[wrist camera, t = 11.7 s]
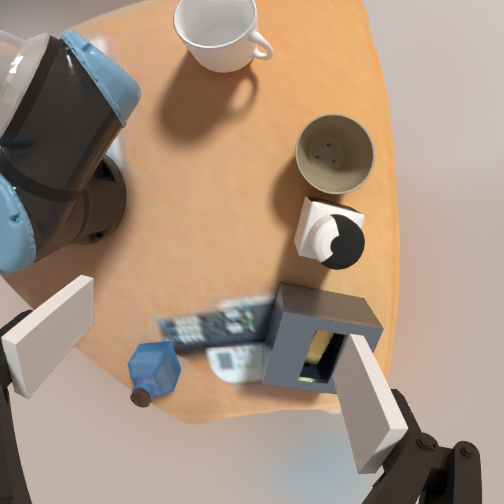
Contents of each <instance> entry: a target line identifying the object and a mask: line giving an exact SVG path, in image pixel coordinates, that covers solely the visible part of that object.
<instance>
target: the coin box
mask: <svg viewBox="0 0 504 504" xmlns="http://www.w3.org/2000/svg"><path fill="white" fill-rule="evenodd" d="M383 329H384V328H383V327H382V325H381V324H380V322H379V321H378V319H377V318H376V316H375V314H374V313H373V311H372V310H371V308H370V307H369V305H368V304H367V302H366V301H365V299H364V298H360V297H354V296H349V295H344V294H339V293H334V292H329V291H324V290H319V289H314V288H309V287H304V286H299V285H294V284H289V283H284V282H280V284H279V287H278V291H277V295H276V299H275V303H274V306H273V310H272V314H271V317H270V321H269V325H268V328H267V332H266V336H265V339H264V343H263V346H262V384H265V385H271V386H277V387H284V388H291V389H298V390H306V391H314V392H322V393H331V394H337V391H336V387H335V383H334V380H333V374H334V372H335V370H336V367H337V365H338V362H339V360H340V358H341V355H342V353H343V350H344V348H345V345H346V343H347V340H348V338H349V335H350V334H355V335H361V336H364V338H365V339H366V341H367V343H368V345H369V347H370V349H371V351H372V353H373V352H374V350H375V348H376V345H377V343H378V341H379V339H380V336H381V334H382V331H383ZM316 330H320V331H326V332H332V333H334V334H333V336H332V338H331V340H330V342H329V344H328V346H327V347H326V349H325V351H324V353H323V355H322V356H321V358H320V360H319V362H318V363H317V365H315V364H311V363H308V362H305V360H306V357H307V354H308V351H309V349H310V346H311V343H312V340H313V337H314V334H315V332H316Z"/></svg>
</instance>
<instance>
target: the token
mask: <svg viewBox="0 0 504 504" xmlns="http://www.w3.org/2000/svg"><path fill="white" fill-rule="evenodd" d="M333 334H334V333H332V332H326V331H320V330H316V332H315V334H314V337H313V340H312V343H311V346H310V349H309V351H308V354H307V357H306V360H305V362H308V363H311V364H315V365H317V363H318V362H319V360H320V358H321V356H322V355H323V353H324V351H325V349H326V347H327V346H328V344H329V342H330V340H331V338H332V336H333Z"/></svg>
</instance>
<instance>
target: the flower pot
mask: <svg viewBox="0 0 504 504" xmlns="http://www.w3.org/2000/svg"><path fill="white" fill-rule="evenodd" d="M327 144H328V146H327ZM295 155H296V162H297V165H298V168H299V170H300V172H301V174H302V175H303V177H304V178H305V179H306V181H307V182H308V183H309V184H311V185H312V186H313V187H315V188H316V189H318V190H320V191H322V192H325V193H329V194H345V193H349V192H351V191H354V190H356V189H357V188H359V187H360V186H361V185H362V184H363V183H364V182H365V181H366V180H367V179H368V177H369V176H370V174H371V172H372V170H373V166H374V161H375V150H374V145H373V142H372V139H371V137H370V135H369V133H368V132H367V131H366V129H365V128H364V127H363V126H362V125H361V124H360V123H359V122H357V121H356V120H354V119H353V118H351V117H349V116H346V115H342V114H335V113H332V114H324V115H321V116H318V117H316V118H314V119H313V120H311V121H310V122H309V123H308V124H307V125H306V126H305V127H304V128H303V129H302V131H301V133H300V134H299V137H298V139H297V143H296V149H295ZM317 157H319V158H318V159H317ZM334 160H335V161H334Z"/></svg>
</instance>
